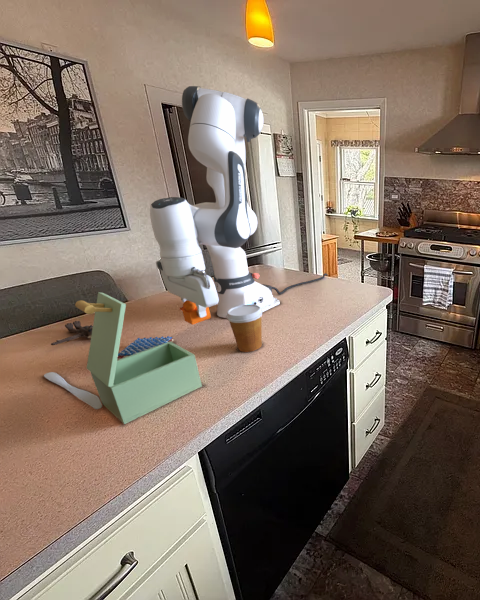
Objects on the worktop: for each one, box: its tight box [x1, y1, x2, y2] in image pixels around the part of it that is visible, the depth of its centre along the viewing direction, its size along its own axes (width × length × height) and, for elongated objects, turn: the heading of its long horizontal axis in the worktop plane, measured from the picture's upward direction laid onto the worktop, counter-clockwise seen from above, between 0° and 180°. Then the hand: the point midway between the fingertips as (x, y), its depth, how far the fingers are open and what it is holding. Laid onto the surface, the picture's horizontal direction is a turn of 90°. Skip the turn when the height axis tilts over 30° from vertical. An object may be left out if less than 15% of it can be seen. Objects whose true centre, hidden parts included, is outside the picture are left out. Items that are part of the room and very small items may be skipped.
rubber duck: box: [179, 300, 212, 326], centre depth 87 cm, size 6×4×6 cm, turn 147°
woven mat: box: [117, 335, 175, 360], centre depth 93 cm, size 10×11×2 cm
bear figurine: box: [50, 320, 93, 346], centre depth 102 cm, size 18×4×14 cm
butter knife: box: [43, 371, 103, 410], centre depth 76 cm, size 1×27×3 cm
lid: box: [74, 292, 127, 387], centre depth 63 cm, size 16×12×5 cm
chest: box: [90, 341, 203, 425], centre depth 74 cm, size 16×12×9 cm
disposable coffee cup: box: [225, 304, 264, 353], centre depth 95 cm, size 10×10×12 cm
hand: (196, 314), depth 88 cm, fingers closed on rubber duck, 4 cm apart
